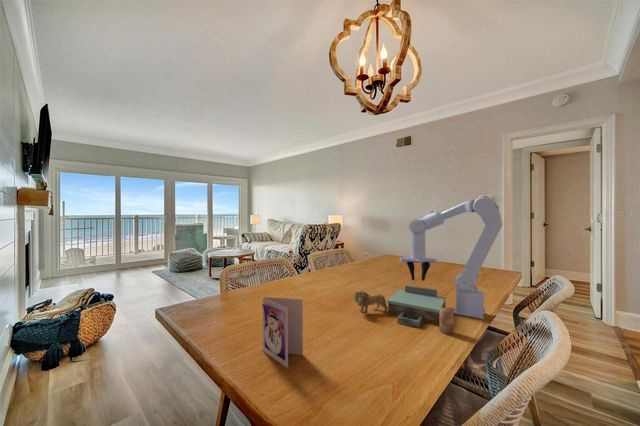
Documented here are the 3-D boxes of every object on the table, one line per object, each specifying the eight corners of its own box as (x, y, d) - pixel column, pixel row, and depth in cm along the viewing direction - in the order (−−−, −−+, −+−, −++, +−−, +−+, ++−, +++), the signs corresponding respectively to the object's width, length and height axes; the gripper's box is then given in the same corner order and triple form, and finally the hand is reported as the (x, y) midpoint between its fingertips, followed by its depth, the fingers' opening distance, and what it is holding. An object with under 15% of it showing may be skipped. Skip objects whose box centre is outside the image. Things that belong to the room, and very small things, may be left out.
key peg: (453, 330, 83) (454, 309, 83) (452, 336, 80) (452, 313, 80) (440, 327, 86) (440, 306, 85) (438, 332, 82) (438, 310, 82)
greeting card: (260, 351, 71) (259, 297, 71) (282, 342, 76) (281, 291, 76) (285, 370, 63) (284, 308, 63) (307, 357, 68) (307, 301, 68)
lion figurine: (358, 317, 94) (358, 293, 94) (351, 312, 99) (351, 288, 99) (391, 311, 99) (391, 288, 99) (383, 307, 104) (383, 284, 104)
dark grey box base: (445, 310, 100) (445, 300, 100) (437, 332, 83) (437, 319, 82) (398, 301, 110) (398, 292, 110) (382, 319, 92) (382, 308, 92)
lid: (445, 300, 100) (445, 291, 100) (439, 313, 87) (439, 302, 87) (398, 292, 110) (398, 283, 110) (387, 302, 97) (387, 293, 97)
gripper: (401, 248, 106) (401, 281, 106) (439, 249, 104) (439, 283, 104) (399, 246, 113) (399, 277, 113) (434, 247, 111) (434, 278, 111)
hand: (418, 279), depth 109 cm, fingers open, 3 cm apart
